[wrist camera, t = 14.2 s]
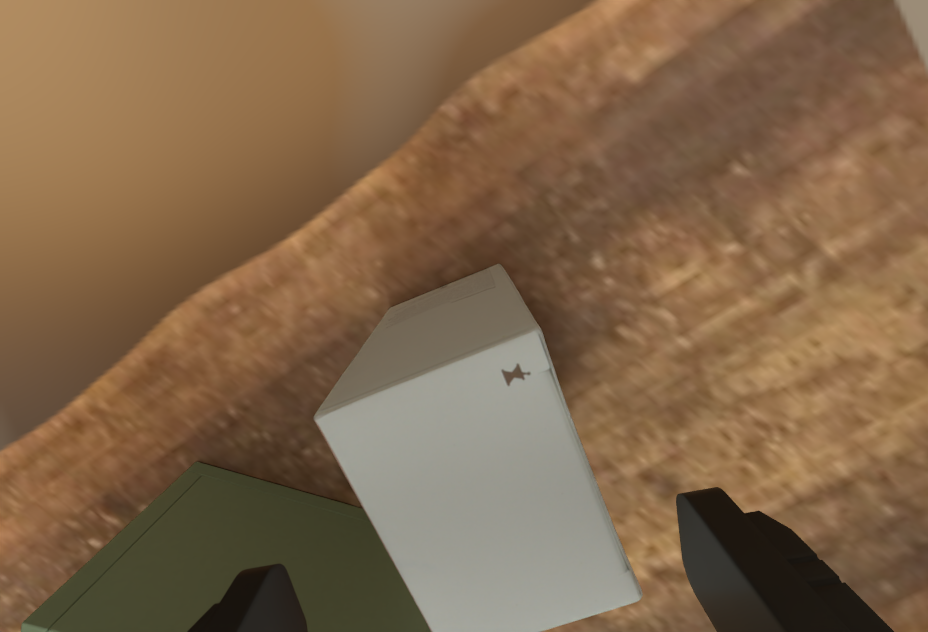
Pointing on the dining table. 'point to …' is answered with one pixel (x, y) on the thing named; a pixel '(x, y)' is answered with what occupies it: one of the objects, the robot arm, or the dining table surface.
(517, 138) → the dining table surface
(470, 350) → the small box
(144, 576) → the chest
